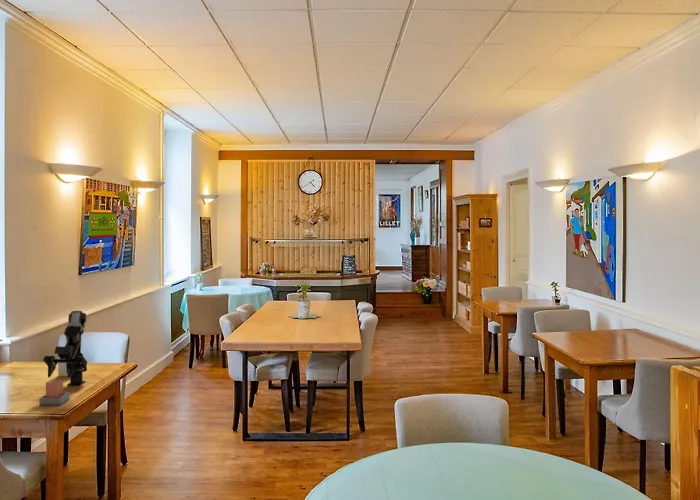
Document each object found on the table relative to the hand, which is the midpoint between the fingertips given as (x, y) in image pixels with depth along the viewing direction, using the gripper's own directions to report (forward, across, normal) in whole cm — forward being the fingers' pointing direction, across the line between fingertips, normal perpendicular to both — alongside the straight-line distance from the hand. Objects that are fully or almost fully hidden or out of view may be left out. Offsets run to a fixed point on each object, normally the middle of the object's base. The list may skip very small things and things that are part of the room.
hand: (58, 377), depth 245 cm
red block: (+9, 0, +4) cm, 10 cm away
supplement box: (-22, -20, +38) cm, 49 cm away
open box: (+10, 0, +5) cm, 11 cm away
